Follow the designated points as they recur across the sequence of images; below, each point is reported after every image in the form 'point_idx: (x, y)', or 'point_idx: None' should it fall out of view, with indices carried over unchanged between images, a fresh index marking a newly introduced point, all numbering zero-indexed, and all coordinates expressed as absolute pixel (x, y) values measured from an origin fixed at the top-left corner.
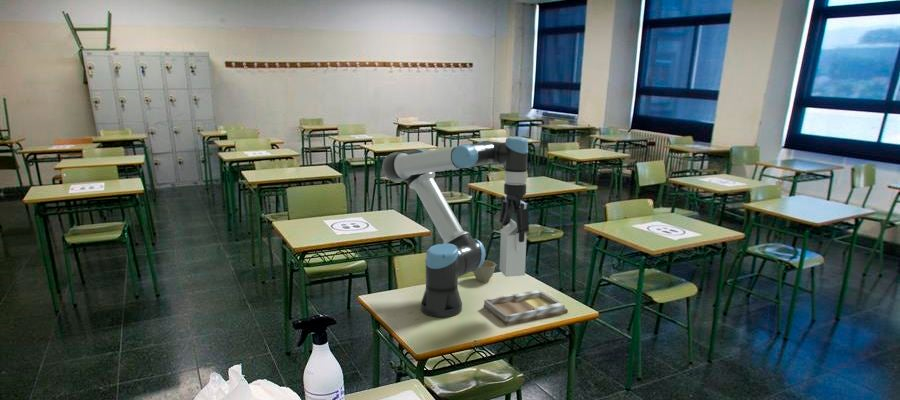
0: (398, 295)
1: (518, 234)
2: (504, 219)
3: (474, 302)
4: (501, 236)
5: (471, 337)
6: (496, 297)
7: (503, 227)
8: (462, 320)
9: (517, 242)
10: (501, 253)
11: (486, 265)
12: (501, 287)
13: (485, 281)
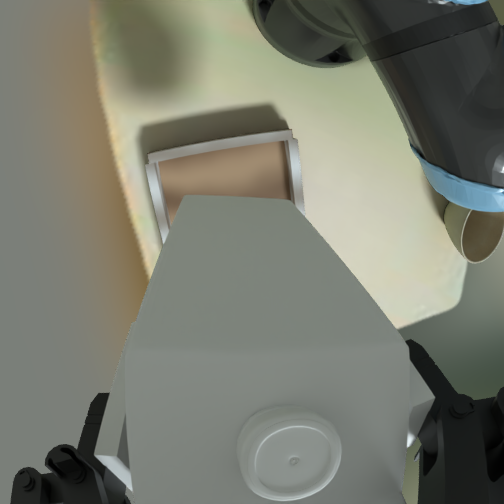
0: None
1: (104, 445)
2: (458, 476)
3: (335, 119)
4: (348, 304)
5: (108, 40)
6: (301, 179)
7: (420, 390)
8: (218, 38)
9: (117, 376)
10: (285, 232)
11: (485, 242)
12: (401, 241)
13: (444, 214)
